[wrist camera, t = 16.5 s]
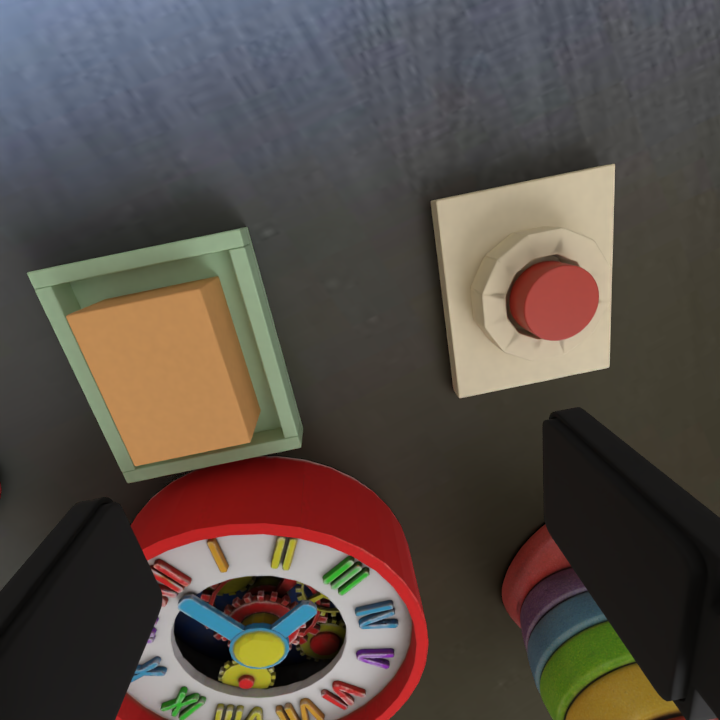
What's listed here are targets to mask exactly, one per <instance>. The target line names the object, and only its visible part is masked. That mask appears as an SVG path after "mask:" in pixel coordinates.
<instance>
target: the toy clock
mask: <svg viewBox="0 0 720 720" xmlns="http://www.w3.org/2000/svg"><path fill="white" fill-rule="evenodd" d="M131 528H132V530H133V532H134V534H135V536H136V538H137V540H138V542H139V545H140V547H141V549H142V551H143V553H144V555H145V557H146V559H147V561H148V564H149V566H150V568H151V570H152V572H153V574H154V576H155V578H156V580H157V583H158V585H159V587H160V589H161V592H162V597H163V598H162V607H161V610H160V613H159V615H158V618H157V620H156V623H155V625H154V627H153V630H152V632H151V635H150V637H149V639H148V642H147V644H146V647H145V649H144V651H143V654H142V656H141V659H140V661H139V664H138V666H137V668H136V671H135V673H134V676H133V678H132V680H131V683H130V685H129V688H128V690H127V693H126V695H125V697H124V700H123V702H122V705H121V707H120V709H119V712H118V714H117V717H116V719H115V720H388V719H389V718H391V717H392V716H393V715H394V714H395V713H396V712H397V711H398V710H399V709H400V707H401V706H402V705H403V704H404V703H405V702H406V701H407V700H408V698H409V697H410V695H411V694H412V692H413V690H414V689H415V687H416V686H417V684H418V683H419V680H420V677H421V675H422V672H423V669H424V667H425V664H426V658H427V651H428V635H427V626H426V620H425V616H424V611H423V607H422V603H421V598H420V594H419V590H418V586H417V581H416V577H415V573H414V568H413V564H412V560H411V555H410V551H409V547H408V543H407V540H406V538H405V535H404V532H403V530H402V527H401V525H400V523H399V522H398V520H397V519H396V517H395V515H394V514H393V512H392V511H391V509H390V508H389V507H388V506H387V505H386V504H385V503H384V502H383V501H382V500H381V499H380V498H379V497H378V496H377V495H376V494H375V493H374V492H373V491H372V490H370V489H369V488H368V487H366V486H365V485H363V484H362V483H360V482H359V481H358V480H356V479H355V478H353V477H351V476H349V475H347V474H344V473H342V472H340V471H338V470H336V469H334V468H332V467H329V466H325V465H322V464H318V463H315V462H311V461H308V460H304V459H297V458H289V457H281V456H258V457H253V458H249V459H244V460H239V461H234V462H229V463H224V464H220V465H215V466H210V467H205V468H200V469H196V470H193V471H192V472H190V473H188V474H186V475H184V476H182V477H180V478H178V479H176V480H174V481H173V482H171V483H170V484H168V485H167V486H166V487H165V488H163V489H162V490H161V491H160V492H158V493H157V494H156V495H154V496H153V497H152V498H151V499H150V500H149V502H148V503H147V504H146V505H145V506H144V507H143V509H142V510H141V511H140V512H139V513H138V514H137V516H136V518H135V519H134V521H133V523H132V524H131Z"/></svg>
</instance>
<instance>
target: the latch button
mask: <svg viewBox="0 0 720 720" xmlns="http://www.w3.org/2000/svg"><path fill="white" fill-rule="evenodd" d="M598 302H599V290H598V286H597V283H596V281H595V279H594V278H593V276H592V275H591V274H590V273H589V272H588V271H586V270H585V269H583V268H581V267H578V266H575V265H571V264H566V263H562V262H558V261H543V262H539V263H537V264H534V265H532V266H531V267H529V268H528V269H526V270H525V271H524V272H523V273H522V274H521V275H520V276H519V277H518V278H517V280H516V281H515V283H514V285H513V287H512V290H511V293H510V299H509V306H510V311H511V314H512V316H513V318H514V320H515V321H516V322H517V323H518V324H519V325H520V326H521V327H523V328H524V329H526V330H528V331H529V332H531V333H533V334H534V335H536V336H537V337H539V338H541V339H544V340H549V341H559V340H564V339H568V338H570V337H572V336H574V335H576V334H578V333H579V332H581V331H582V330H583V329H584V328H585V327H586V326H587V325H588V324H589V323H590V321H591V320H592V318H593V317H594V315H595V312H596V310H597V307H598Z"/></svg>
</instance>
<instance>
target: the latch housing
mask: <svg viewBox="0 0 720 720" xmlns="http://www.w3.org/2000/svg"><path fill="white" fill-rule="evenodd" d="M614 184H615V164H609V165H603V166H597V167H592V168H587V169H582V170H578V171H573V172H568V173H563V174H558V175H553V176H548V177H544V178H539V179H534V180H529V181H524V182H519V183H514V184H510V185H505V186H500V187H495V188H490V189H485V190H480V191H475V192H471V193H466V194H461V195H456V196H451V197H446V198H441V199H437V200H432V201H431V209H432V217H433V226H434V234H435V242H436V250H437V259H438V267H439V275H440V283H441V291H442V300H443V308H444V316H445V324H446V333H447V341H448V349H449V357H450V366H451V374H452V382H453V390H454V391H455V393H456V394H457V396H458V397H459V398H464V397H469V396H473V395H478V394H483V393H488V392H493V391H498V390H502V389H507V388H512V387H517V386H522V385H527V384H532V383H536V382H541V381H546V380H551V379H556V378H561V377H565V376H570V375H575V374H580V373H585V372H590V371H594V370H599V369H604V368H609V364H610V328H611V292H612V256H613V220H614ZM543 261H558V262H562V263H566V264H571V265H575V266H578V267H581V268H583V269H585V270H586V271H588V272H589V273H590V274H591V275H592V276H593V278H594V279H595V281H596V283H597V286H598V290H599V302H598V307H597V310H596V312H595V315H594V317H593V318H592V320H591V321H590V323H589V324H588V325H587V326H586V327H585V328H584V329H583V330H582V331H581V332H579V333H578V334H576V335H574V336H572V337H570V338H568V339H564V340H559V341H549V340H544V339H541V338H539V337H537V336H536V335H534V334H533V333H531V332H529V331H528V330H526V329H524V328H523V327H521V326H520V325H519V324H518V323H517V322H516V321H515V320H514V318H513V316H512V314H511V311H510V306H509V299H510V293H511V290H512V287H513V285H514V283H515V281H516V280H517V278H518V277H519V276H520V275H521V274H522V273H523V272H524V271H525V270H526V269H528V268H529V267H531V266H532V265H534V264H537V263H539V262H543Z"/></svg>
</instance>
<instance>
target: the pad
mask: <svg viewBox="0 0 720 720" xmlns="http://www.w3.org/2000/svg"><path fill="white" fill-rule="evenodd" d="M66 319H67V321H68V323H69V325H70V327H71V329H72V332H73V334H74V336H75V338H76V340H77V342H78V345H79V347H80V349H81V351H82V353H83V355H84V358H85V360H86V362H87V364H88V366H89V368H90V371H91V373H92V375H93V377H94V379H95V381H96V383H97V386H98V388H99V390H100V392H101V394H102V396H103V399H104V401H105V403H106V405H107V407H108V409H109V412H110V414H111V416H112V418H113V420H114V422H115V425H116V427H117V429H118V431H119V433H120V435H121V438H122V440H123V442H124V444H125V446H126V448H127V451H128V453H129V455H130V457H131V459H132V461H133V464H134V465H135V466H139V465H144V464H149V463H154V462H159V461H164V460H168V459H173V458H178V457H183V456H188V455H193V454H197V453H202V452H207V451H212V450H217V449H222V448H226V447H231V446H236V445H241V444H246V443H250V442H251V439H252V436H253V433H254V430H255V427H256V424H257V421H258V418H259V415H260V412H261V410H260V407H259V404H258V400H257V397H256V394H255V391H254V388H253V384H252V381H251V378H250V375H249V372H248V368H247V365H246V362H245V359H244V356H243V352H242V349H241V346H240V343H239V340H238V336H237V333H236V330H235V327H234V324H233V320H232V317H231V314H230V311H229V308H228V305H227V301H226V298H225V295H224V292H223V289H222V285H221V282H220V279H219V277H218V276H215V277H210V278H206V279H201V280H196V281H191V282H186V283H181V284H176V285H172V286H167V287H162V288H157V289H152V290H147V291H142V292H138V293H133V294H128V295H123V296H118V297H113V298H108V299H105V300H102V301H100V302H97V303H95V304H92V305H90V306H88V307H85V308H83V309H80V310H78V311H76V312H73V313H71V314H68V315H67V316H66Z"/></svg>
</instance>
